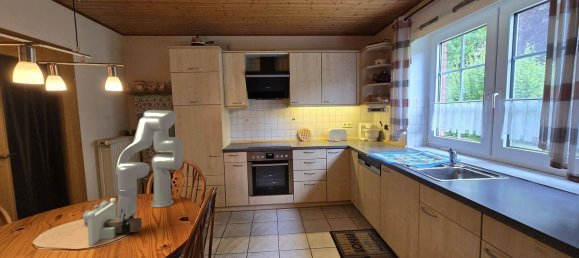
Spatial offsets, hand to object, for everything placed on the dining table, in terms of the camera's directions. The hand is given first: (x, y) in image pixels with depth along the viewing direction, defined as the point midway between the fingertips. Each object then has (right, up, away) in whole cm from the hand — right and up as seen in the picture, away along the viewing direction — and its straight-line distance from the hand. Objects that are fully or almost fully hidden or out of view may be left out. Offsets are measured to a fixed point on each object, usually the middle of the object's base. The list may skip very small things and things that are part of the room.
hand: (128, 229), depth 119 cm
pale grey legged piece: (-8, -2, -1) cm, 8 cm away
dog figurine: (-23, -1, +11) cm, 26 cm away
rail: (-2, 0, 0) cm, 2 cm away
